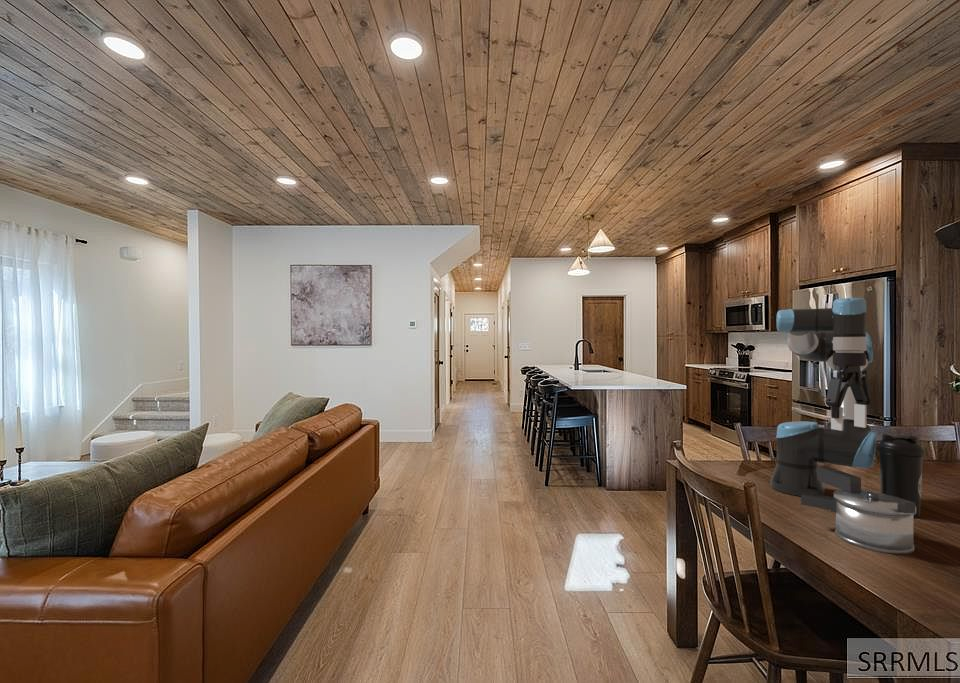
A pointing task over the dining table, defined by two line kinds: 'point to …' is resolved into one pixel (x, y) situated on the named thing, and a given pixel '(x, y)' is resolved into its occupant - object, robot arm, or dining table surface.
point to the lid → (863, 494)
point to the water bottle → (901, 468)
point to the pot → (867, 526)
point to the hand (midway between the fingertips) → (848, 428)
